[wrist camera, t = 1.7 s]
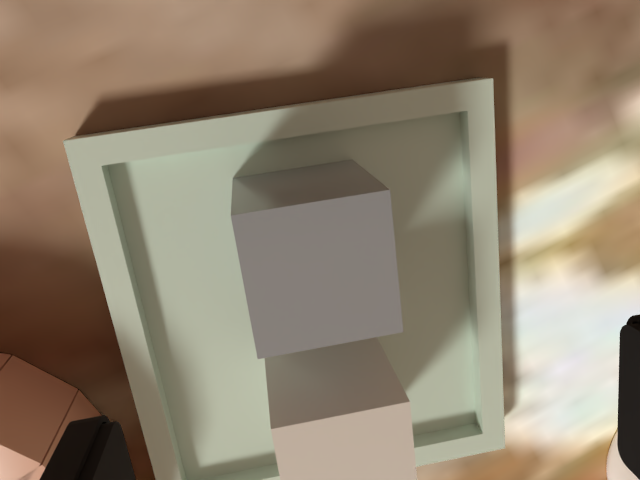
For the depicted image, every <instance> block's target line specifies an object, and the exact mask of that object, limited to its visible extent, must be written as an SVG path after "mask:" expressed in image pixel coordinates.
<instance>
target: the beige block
mask: <svg viewBox="0 0 640 480" xmlns="http://www.w3.org/2000/svg"><path fill="white" fill-rule="evenodd" d="M265 370H266V381H267V392H268V403H269V414H270V426H271V433H272V438H273V444H274V449H275V454H276V460H277V465H278V470H279V475H280V480H417V472H416V461H415V451H414V440H413V429H412V419H411V408H410V401H409V399H408V397H407V395H406V393H405V391H404V389H403V387H402V385H401V383H400V381H399V379H398V377H397V375H396V373H395V372H394V370H393V368H392V366H391V364H390V362H389V360H388V358H387V356H386V354H385V352H384V350H383V348H382V346H381V344H380V342H379V340H378V338H377V337H375V338H369V339H364V340H359V341H353V342H348V343H343V344H337V345H332V346H326V347H321V348H316V349H310V350H305V351H300V352H294V353H289V354H284V355H278V356H273V357H268V358H265Z"/></svg>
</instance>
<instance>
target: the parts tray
mask: <svg viewBox="0 0 640 480" xmlns="http://www.w3.org/2000/svg"><path fill="white" fill-rule="evenodd" d="M63 143H64V146H65V150H66V154H67V157H68V161H69V165H70V168H71V172H72V176H73V179H74V183H75V186H76V190H77V194H78V197H79V201H80V205H81V208H82V212H83V216H84V219H85V223H86V227H87V230H88V234H89V238H90V241H91V245H92V249H93V252H94V256H95V260H96V263H97V267H98V271H99V274H100V278H101V282H102V285H103V289H104V292H105V296H106V300H107V303H108V307H109V311H110V314H111V318H112V322H113V325H114V329H115V333H116V336H117V340H118V344H119V347H120V351H121V355H122V358H123V362H124V366H125V369H126V373H127V377H128V380H129V384H130V387H131V391H132V395H133V398H134V402H135V406H136V409H137V413H138V417H139V420H140V424H141V428H142V431H143V435H144V439H145V442H146V446H147V450H148V453H149V457H150V461H151V464H152V468H153V472H154V475H155V479H156V480H280V475H279V470H278V465H277V460H276V454H275V449H274V444H273V438H272V433H271V426H270V414H269V403H268V392H267V381H266V370H265V358H262V359H258V358H257V353H256V348H255V342H254V337H253V332H252V326H251V321H250V316H249V310H248V305H247V300H246V294H245V289H244V284H243V279H242V273H241V268H240V263H239V257H238V252H237V247H236V241H235V236H234V231H233V225H232V220H231V200H232V181H233V178H235V177H241V176H248V175H254V174H261V173H267V172H274V171H280V170H286V169H293V168H299V167H306V166H312V165H318V164H325V163H331V162H338V161H344V160H350V159H353V160H354V161H355V162H356V163H358V164H359V165H360V166H361V167H363V168H364V169H365V170H366V171H368V172H369V173H370V174H371V175H373V176H374V177H375V178H376V179H377V180H379V181H380V182H381V183H382V184H384V185H385V186H386V187H387V188H389V189H390V194H391V205H392V215H393V226H394V237H395V248H396V258H397V269H398V280H399V290H400V301H401V312H402V322H403V332H401V333H396V334H391V335H385V336H380V337H377V338H378V340H379V342H380V344H381V346H382V348H383V350H384V352H385V354H386V356H387V358H388V360H389V362H390V364H391V366H392V368H393V370H394V372H395V373H396V375H397V377H398V379H399V381H400V383H401V385H402V387H403V389H404V391H405V393H406V395H407V397H408V399H409V401H410V408H411V419H412V429H413V440H414V451H415V461H416V467H418V466H423V465H427V464H432V463H437V462H442V461H446V460H451V459H456V458H461V457H465V456H470V455H475V454H480V453H484V452H489V451H494V450H499V449H503V448H505V428H504V397H503V366H502V335H501V304H500V273H499V242H498V211H497V180H496V149H495V118H494V87H493V78H472V79H465V80H458V81H451V82H444V83H437V84H430V85H423V86H417V87H410V88H403V89H396V90H389V91H382V92H375V93H368V94H362V95H355V96H348V97H341V98H334V99H327V100H320V101H313V102H306V103H300V104H293V105H286V106H279V107H272V108H265V109H258V110H251V111H244V112H238V113H231V114H224V115H217V116H210V117H203V118H196V119H189V120H182V121H176V122H169V123H162V124H155V125H148V126H141V127H134V128H127V129H121V130H114V131H107V132H100V133H93V134H86V135H79V136H73V137H71V138H69V139H66V140H64V141H63Z"/></svg>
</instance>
